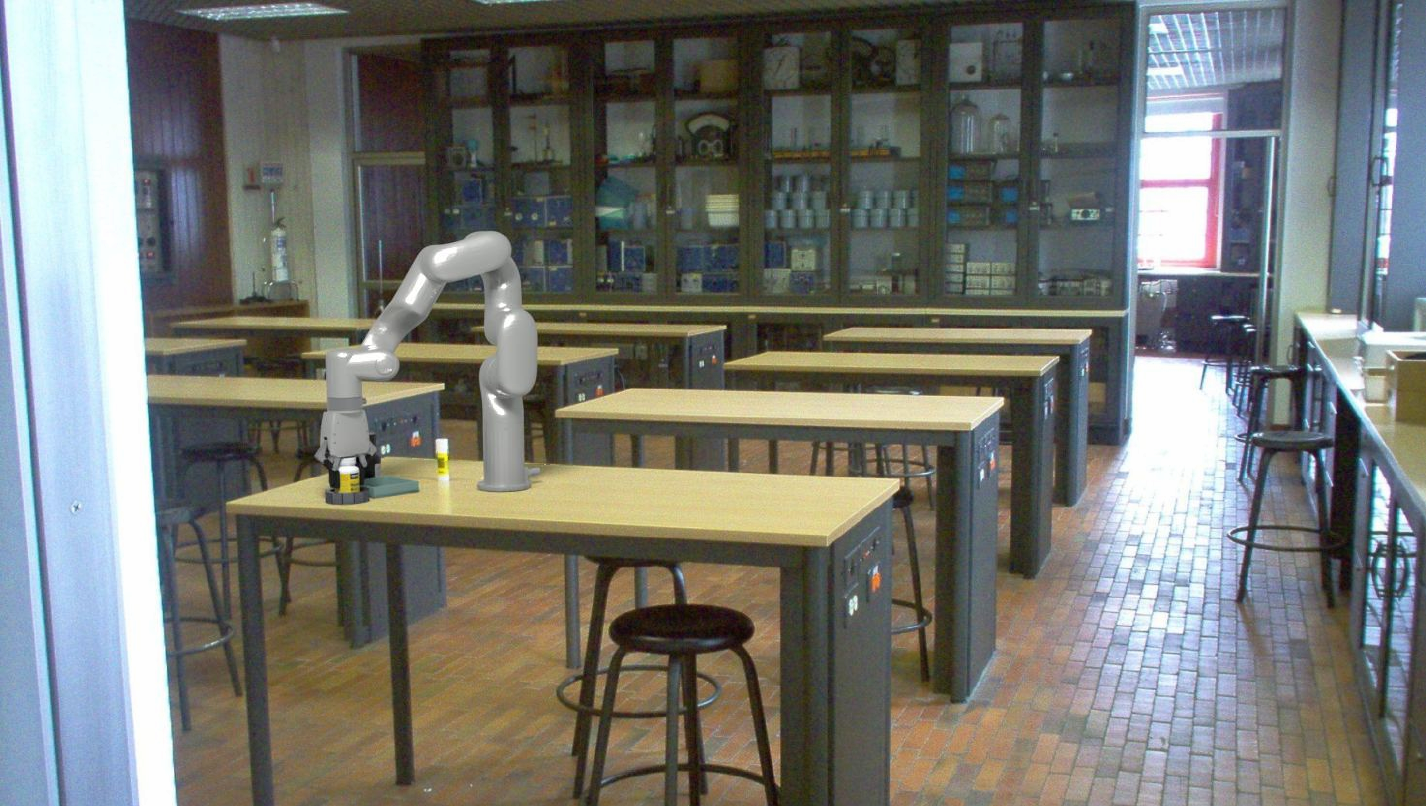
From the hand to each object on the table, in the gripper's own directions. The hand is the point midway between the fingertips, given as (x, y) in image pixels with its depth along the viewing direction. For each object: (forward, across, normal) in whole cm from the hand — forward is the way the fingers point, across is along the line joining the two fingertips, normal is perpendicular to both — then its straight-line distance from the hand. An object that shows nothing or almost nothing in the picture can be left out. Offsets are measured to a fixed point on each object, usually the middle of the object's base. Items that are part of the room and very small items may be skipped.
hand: (347, 485), depth 293 cm
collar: (+3, 0, 0) cm, 3 cm away
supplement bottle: (+4, 0, 0) cm, 4 cm away
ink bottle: (+4, -16, -18) cm, 24 cm away
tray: (+3, -12, -4) cm, 13 cm away
